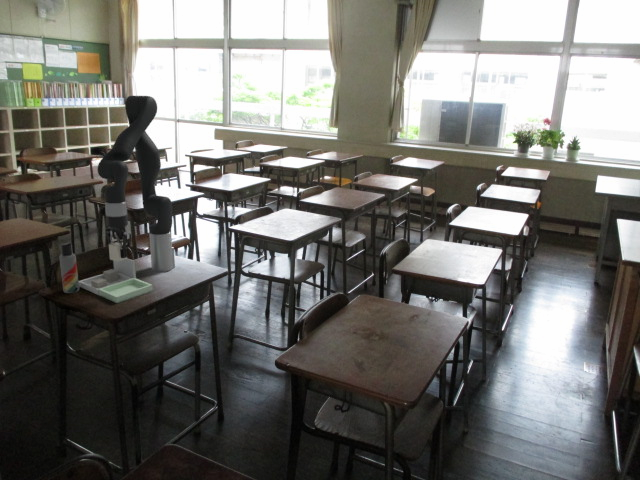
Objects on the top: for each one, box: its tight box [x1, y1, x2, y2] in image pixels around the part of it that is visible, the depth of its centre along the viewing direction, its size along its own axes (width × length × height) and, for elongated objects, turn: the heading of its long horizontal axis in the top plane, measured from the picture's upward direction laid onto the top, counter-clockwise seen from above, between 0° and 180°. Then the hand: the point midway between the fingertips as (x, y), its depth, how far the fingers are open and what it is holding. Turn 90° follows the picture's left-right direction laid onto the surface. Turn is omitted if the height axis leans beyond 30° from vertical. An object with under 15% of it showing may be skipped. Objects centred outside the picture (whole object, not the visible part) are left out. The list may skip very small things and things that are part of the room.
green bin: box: [98, 277, 154, 304], centre depth 201 cm, size 16×12×3 cm
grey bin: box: [78, 273, 132, 296], centre depth 209 cm, size 16×14×2 cm
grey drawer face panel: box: [112, 257, 137, 279], centre depth 215 cm, size 1×14×10 cm, turn 54°
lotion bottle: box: [58, 241, 80, 294], centre depth 199 cm, size 6×6×20 cm
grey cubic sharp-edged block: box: [102, 268, 118, 283], centre depth 213 cm, size 4×4×4 cm
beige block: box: [108, 242, 128, 261], centre depth 196 cm, size 4×4×6 cm
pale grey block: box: [91, 278, 107, 289], centre depth 203 cm, size 4×4×4 cm
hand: (119, 256), depth 197 cm, fingers closed on beige block, 4 cm apart
